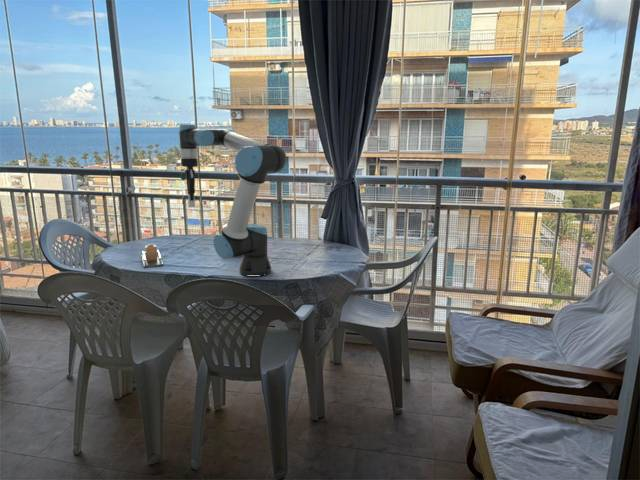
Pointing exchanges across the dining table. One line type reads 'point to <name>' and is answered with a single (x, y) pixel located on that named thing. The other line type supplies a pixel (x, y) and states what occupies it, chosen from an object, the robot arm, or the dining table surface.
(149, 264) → the white tray
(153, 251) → the module
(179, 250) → the dining table surface
